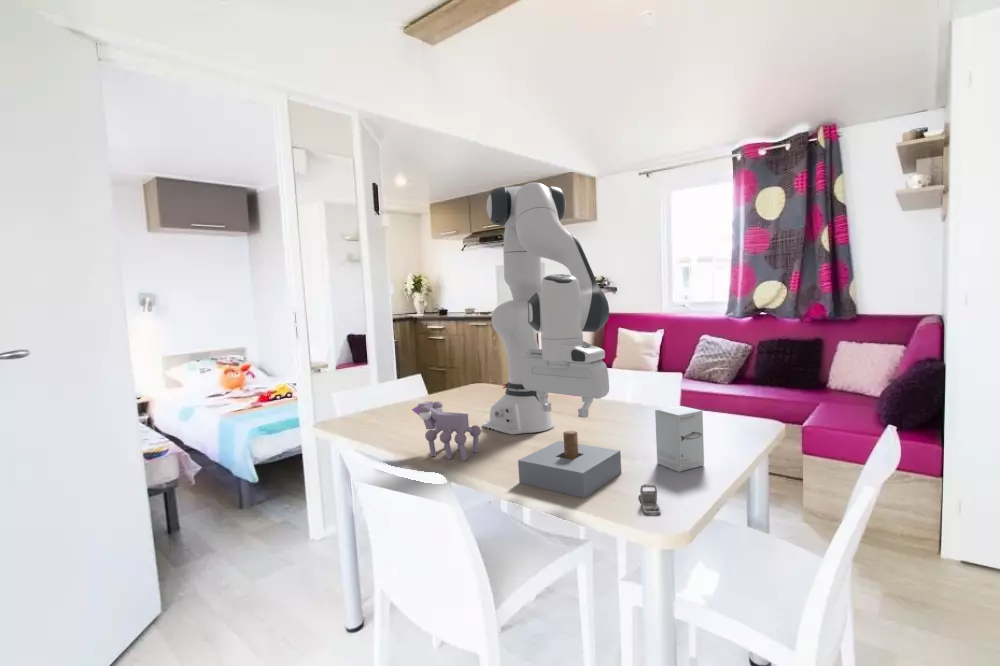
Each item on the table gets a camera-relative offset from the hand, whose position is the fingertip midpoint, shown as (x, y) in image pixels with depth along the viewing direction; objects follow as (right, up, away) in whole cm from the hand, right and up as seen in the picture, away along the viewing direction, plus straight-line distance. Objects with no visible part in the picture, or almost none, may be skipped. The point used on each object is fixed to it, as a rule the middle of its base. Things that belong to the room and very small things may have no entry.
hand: (564, 414), depth 108 cm
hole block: (+1, -14, +1) cm, 14 cm away
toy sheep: (-29, -15, +25) cm, 41 cm away
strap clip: (+14, -15, -15) cm, 25 cm away
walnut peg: (+2, -14, +1) cm, 14 cm away
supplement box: (+27, -12, +4) cm, 30 cm away
